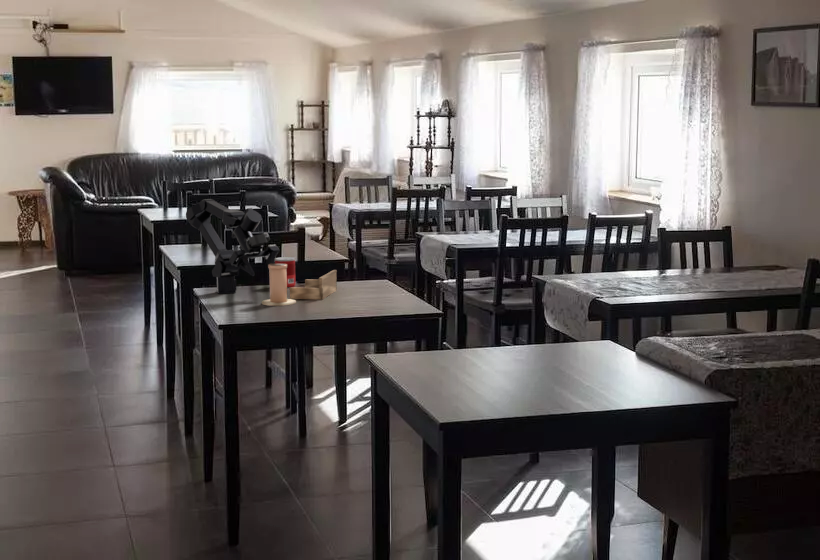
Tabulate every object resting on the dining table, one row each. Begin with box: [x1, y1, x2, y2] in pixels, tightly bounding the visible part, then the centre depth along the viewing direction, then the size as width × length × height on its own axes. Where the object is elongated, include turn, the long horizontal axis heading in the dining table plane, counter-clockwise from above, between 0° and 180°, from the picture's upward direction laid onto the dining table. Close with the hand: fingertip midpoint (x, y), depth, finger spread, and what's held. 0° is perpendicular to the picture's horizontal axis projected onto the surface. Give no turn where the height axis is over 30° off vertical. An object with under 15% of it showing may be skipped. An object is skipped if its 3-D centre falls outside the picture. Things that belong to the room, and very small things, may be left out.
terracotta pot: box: [267, 264, 288, 303], centre depth 389 cm, size 7×7×13 cm
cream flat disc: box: [261, 298, 297, 307], centre depth 390 cm, size 12×12×1 cm
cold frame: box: [289, 269, 338, 300], centre depth 408 cm, size 12×21×8 cm, turn 170°
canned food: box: [275, 256, 296, 287], centre depth 428 cm, size 8×8×11 cm
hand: (264, 273), depth 396 cm, fingers open, 9 cm apart
